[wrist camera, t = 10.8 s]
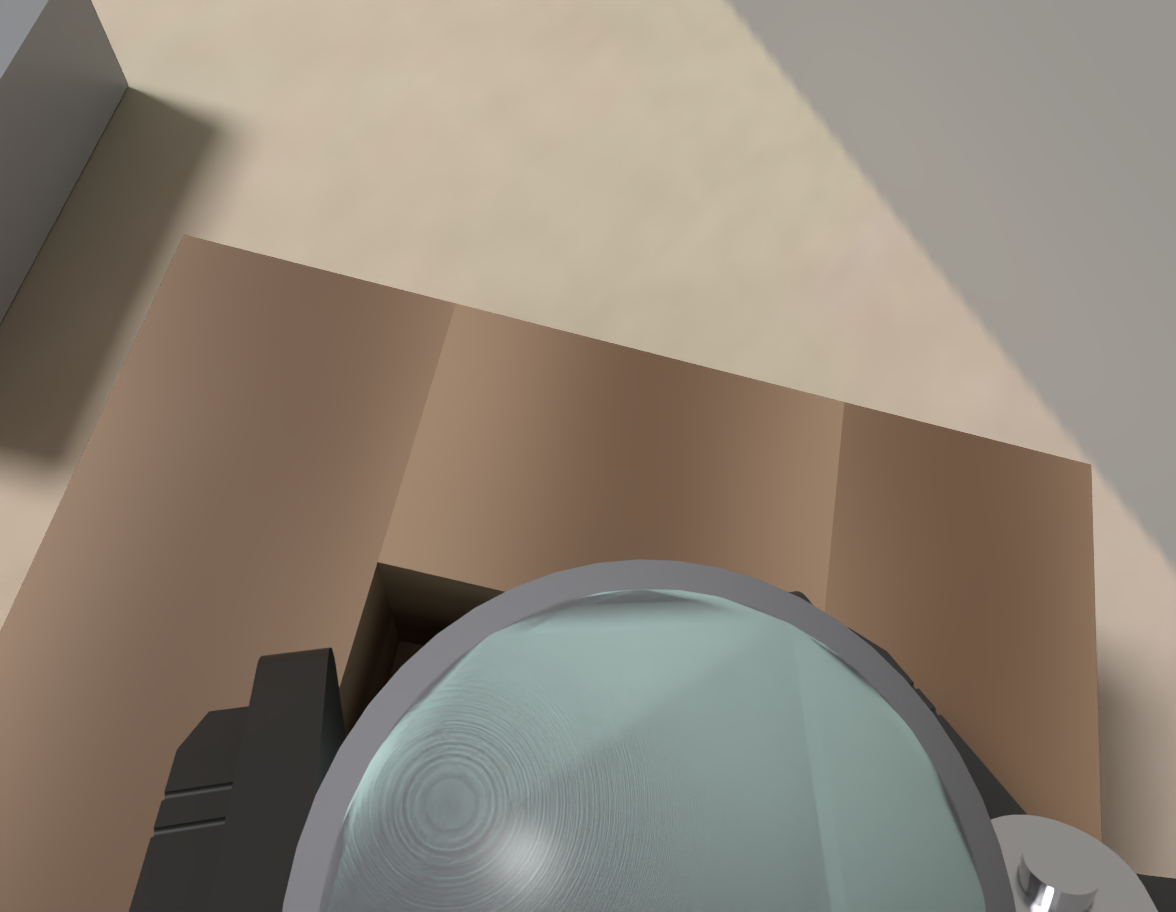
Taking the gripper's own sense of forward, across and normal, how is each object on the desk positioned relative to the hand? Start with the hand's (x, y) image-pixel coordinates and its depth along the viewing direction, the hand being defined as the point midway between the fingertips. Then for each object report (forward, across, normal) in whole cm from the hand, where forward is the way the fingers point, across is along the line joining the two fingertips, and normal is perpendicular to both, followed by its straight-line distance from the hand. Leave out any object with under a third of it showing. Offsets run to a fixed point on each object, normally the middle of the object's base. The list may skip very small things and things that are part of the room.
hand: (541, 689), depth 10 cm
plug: (+2, 0, +5) cm, 6 cm away
